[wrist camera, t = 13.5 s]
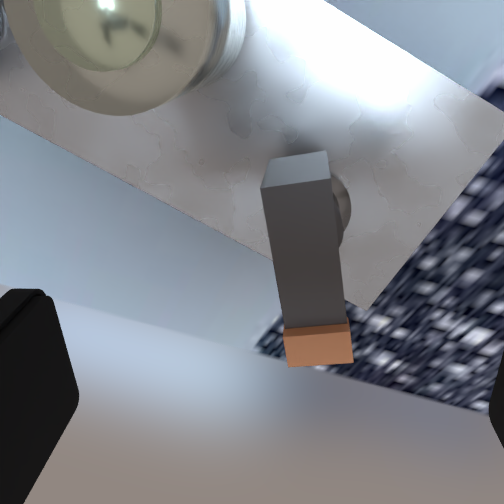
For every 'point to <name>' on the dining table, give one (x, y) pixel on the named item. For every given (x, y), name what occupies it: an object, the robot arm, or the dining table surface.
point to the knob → (307, 258)
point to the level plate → (250, 113)
